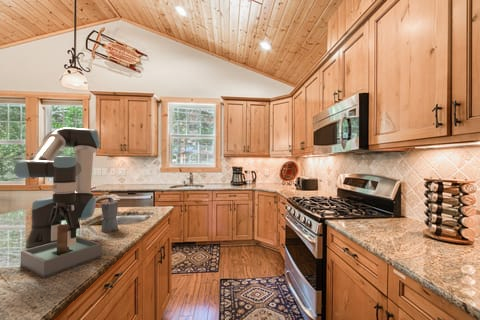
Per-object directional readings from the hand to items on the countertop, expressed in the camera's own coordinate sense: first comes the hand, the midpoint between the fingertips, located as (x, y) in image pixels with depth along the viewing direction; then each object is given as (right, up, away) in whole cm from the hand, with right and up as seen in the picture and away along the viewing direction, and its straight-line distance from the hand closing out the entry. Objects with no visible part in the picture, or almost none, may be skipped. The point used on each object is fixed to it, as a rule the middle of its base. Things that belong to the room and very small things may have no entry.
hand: (63, 242), depth 90 cm
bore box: (0, -8, 0) cm, 8 cm away
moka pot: (-6, -9, +42) cm, 44 cm away
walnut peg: (0, -7, 0) cm, 7 cm away
